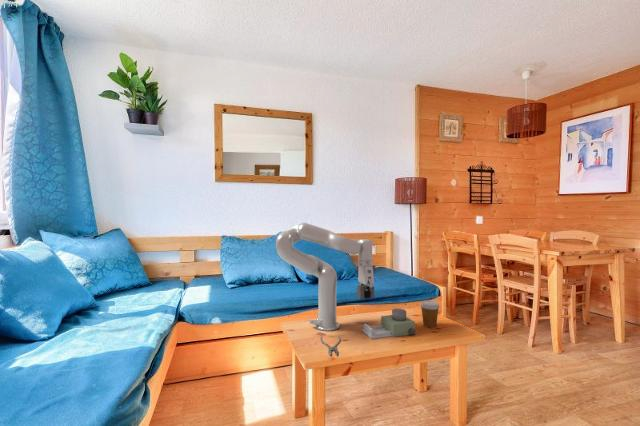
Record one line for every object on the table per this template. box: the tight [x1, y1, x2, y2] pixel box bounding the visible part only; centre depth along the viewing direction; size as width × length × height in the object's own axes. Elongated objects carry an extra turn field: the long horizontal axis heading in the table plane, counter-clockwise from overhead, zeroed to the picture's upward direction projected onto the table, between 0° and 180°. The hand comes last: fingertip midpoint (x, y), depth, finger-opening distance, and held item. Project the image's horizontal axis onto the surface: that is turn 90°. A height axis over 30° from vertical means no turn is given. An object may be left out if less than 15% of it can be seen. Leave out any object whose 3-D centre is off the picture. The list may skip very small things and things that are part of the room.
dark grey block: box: [355, 284, 375, 300], centre depth 159 cm, size 8×5×6 cm, turn 107°
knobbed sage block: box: [362, 308, 416, 340], centre depth 149 cm, size 23×14×10 cm, turn 107°
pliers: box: [320, 336, 341, 357], centre depth 135 cm, size 10×1×20 cm
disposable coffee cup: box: [420, 300, 440, 329], centre depth 158 cm, size 10×10×12 cm
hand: (365, 296), depth 159 cm, fingers closed on dark grey block, 5 cm apart
